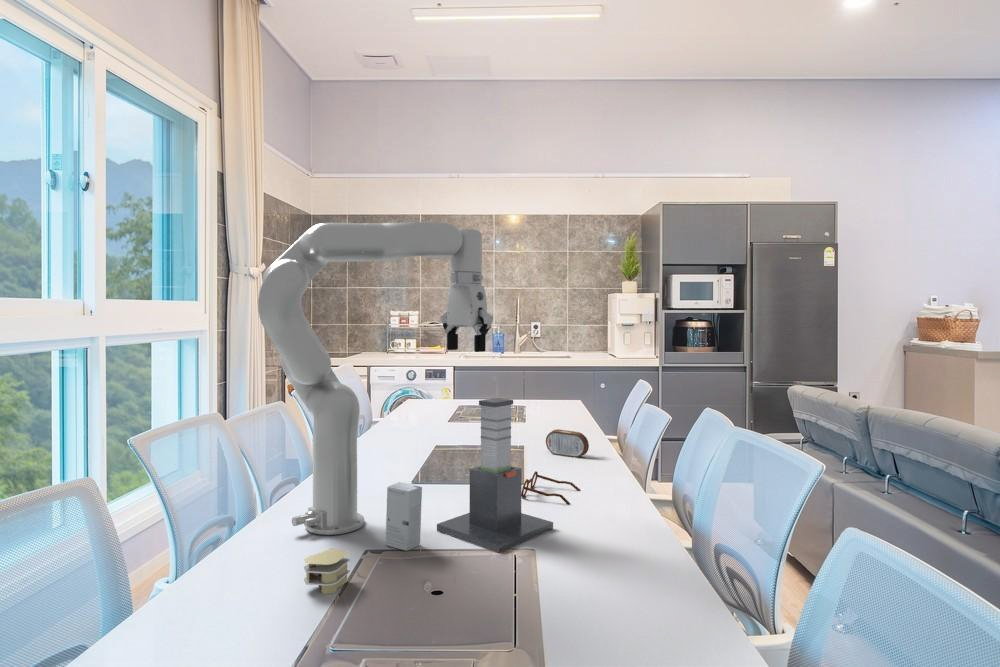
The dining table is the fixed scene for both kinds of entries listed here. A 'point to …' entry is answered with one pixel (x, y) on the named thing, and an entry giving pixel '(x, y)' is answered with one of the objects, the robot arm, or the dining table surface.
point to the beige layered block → (327, 570)
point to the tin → (567, 443)
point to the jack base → (495, 513)
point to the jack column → (496, 435)
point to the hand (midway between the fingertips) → (465, 350)
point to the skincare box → (403, 516)
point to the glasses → (543, 492)
